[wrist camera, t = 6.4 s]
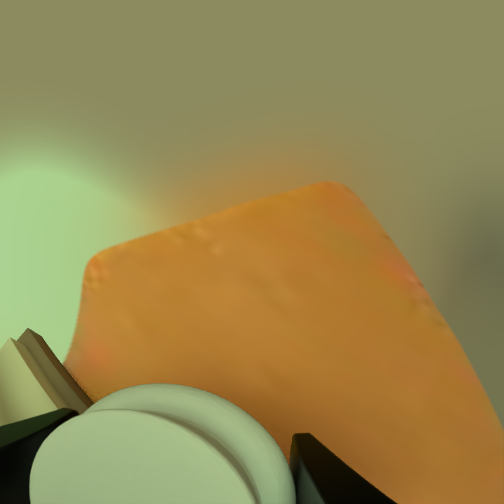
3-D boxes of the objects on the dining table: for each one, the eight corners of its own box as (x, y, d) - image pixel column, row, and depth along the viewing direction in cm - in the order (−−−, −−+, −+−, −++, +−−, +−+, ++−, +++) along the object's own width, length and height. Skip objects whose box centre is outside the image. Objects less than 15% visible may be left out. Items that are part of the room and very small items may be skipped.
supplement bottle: (146, 407, 13) (-3, 348, 4) (266, 402, 13) (299, 345, 5) (155, 516, 10) (23, 598, 2) (278, 514, 11) (327, 636, 2)
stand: (51, 527, 13) (21, 536, 9) (-25, 419, 16) (-57, 411, 13) (133, 444, 17) (109, 446, 14) (41, 336, 20) (12, 317, 17)
